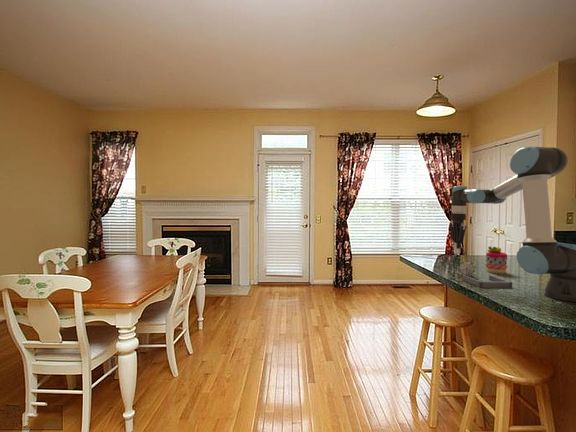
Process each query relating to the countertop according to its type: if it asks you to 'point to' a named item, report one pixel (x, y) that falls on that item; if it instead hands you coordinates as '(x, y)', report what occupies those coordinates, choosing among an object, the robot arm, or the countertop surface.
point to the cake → (496, 260)
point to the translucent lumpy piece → (466, 268)
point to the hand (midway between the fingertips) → (456, 253)
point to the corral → (496, 282)
